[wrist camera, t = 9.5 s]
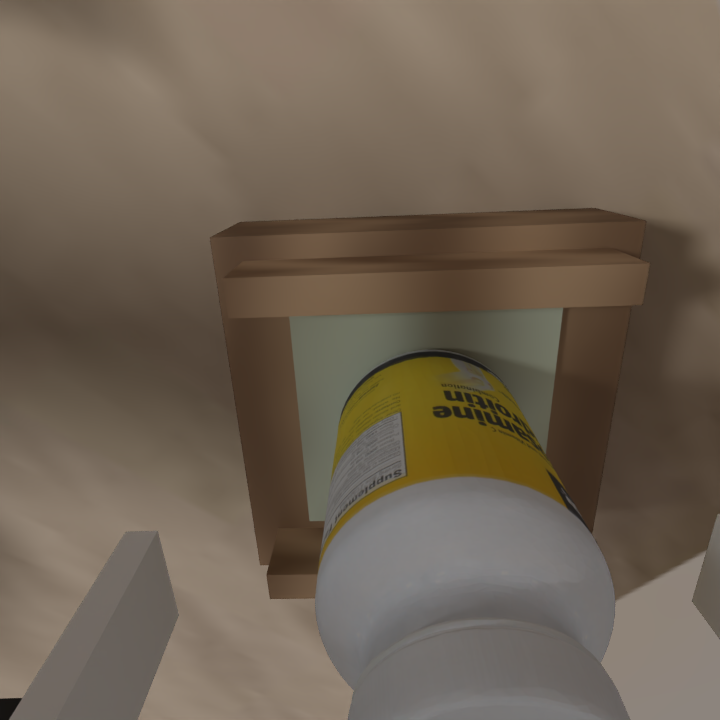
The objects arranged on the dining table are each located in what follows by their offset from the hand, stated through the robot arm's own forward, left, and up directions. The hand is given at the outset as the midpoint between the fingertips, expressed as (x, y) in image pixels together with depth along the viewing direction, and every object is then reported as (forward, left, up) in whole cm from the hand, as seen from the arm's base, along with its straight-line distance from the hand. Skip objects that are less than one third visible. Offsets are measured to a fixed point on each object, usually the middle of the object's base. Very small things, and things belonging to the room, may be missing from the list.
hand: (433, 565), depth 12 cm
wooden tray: (0, 0, -11) cm, 11 cm away
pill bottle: (0, 0, -7) cm, 7 cm away
